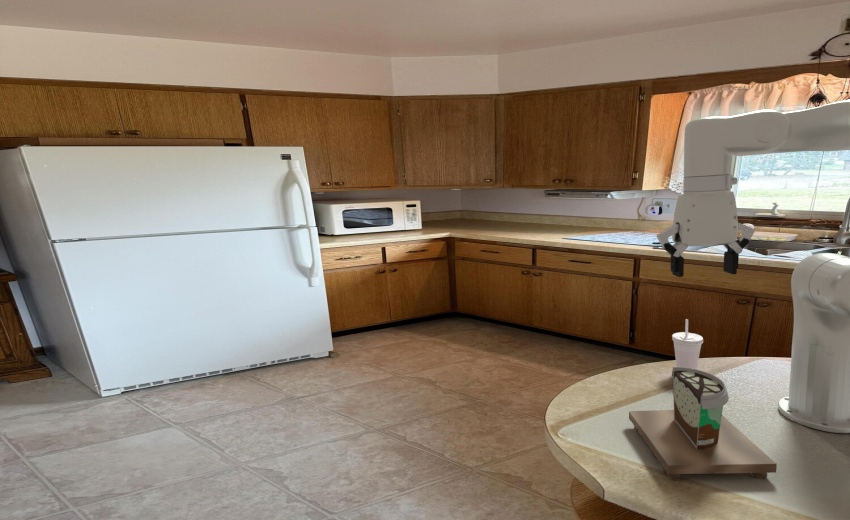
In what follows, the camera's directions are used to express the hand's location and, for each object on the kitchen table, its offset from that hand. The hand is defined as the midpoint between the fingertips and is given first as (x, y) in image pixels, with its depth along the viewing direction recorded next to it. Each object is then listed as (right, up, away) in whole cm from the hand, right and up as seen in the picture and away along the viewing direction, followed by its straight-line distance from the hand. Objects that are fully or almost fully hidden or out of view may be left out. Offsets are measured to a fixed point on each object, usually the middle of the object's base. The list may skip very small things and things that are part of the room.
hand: (703, 274), depth 87 cm
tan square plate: (-7, -31, -8) cm, 33 cm away
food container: (-6, -28, -9) cm, 30 cm away
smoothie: (+8, -25, +20) cm, 33 cm away
